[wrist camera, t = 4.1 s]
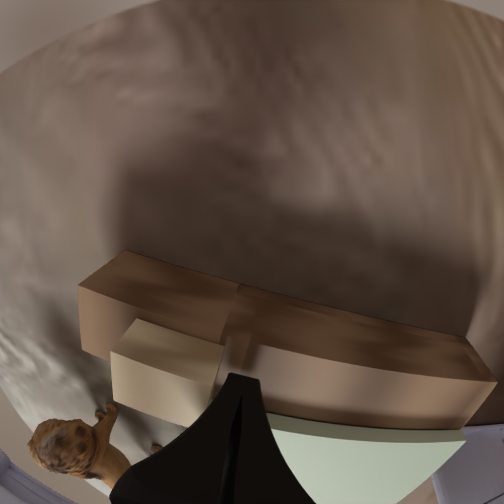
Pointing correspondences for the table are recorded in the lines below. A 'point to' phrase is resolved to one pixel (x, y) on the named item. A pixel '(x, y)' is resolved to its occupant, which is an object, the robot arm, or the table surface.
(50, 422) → the lion figurine
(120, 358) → the wooden key
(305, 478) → the lid
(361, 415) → the wooden box
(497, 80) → the table surface
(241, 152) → the table surface
